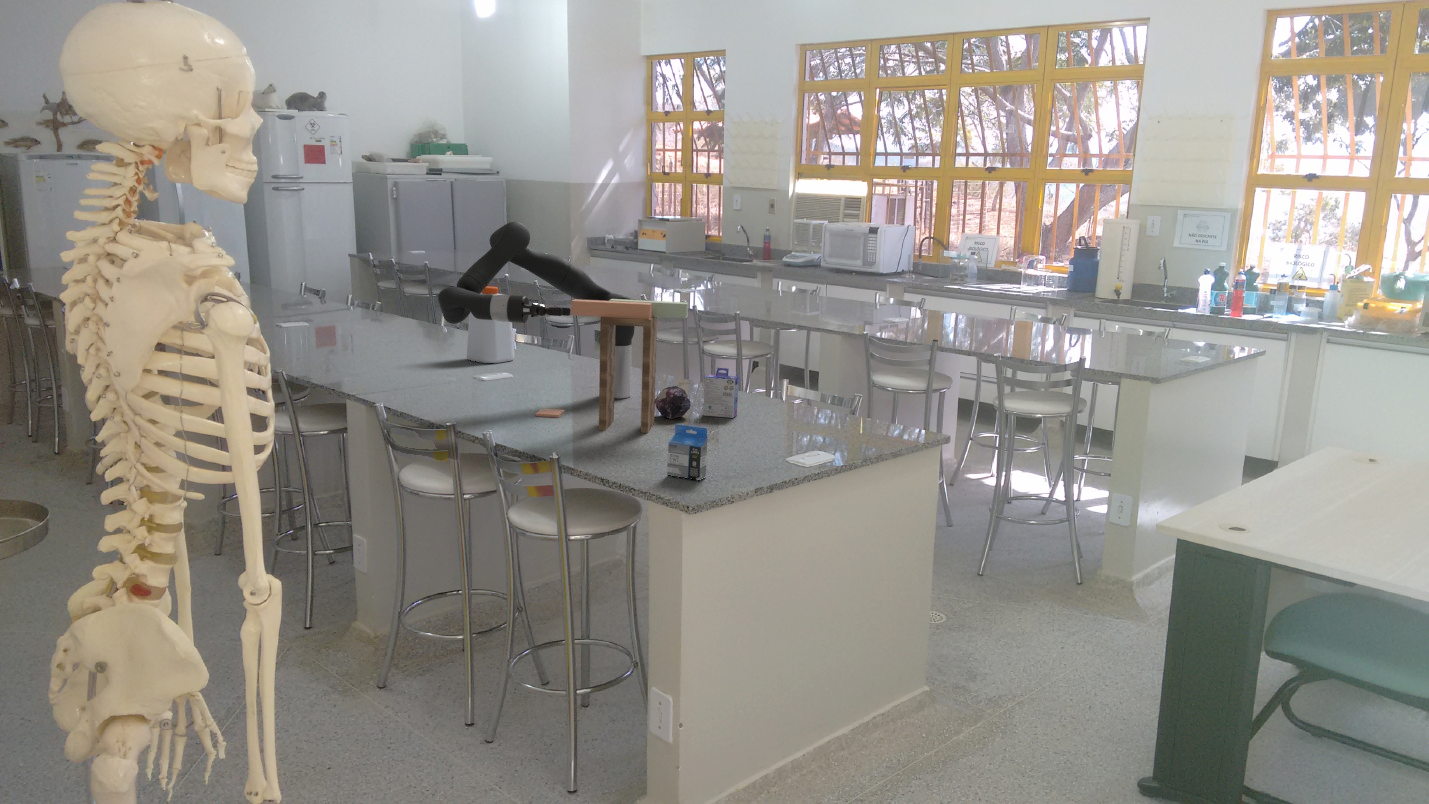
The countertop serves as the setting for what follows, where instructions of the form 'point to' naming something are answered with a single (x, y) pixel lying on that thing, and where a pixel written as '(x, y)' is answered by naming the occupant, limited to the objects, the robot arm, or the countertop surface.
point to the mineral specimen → (672, 402)
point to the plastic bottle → (489, 338)
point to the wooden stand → (609, 369)
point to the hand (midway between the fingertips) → (566, 312)
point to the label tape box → (687, 452)
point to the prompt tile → (549, 413)
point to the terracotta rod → (611, 309)
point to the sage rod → (664, 308)
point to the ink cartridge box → (720, 395)
